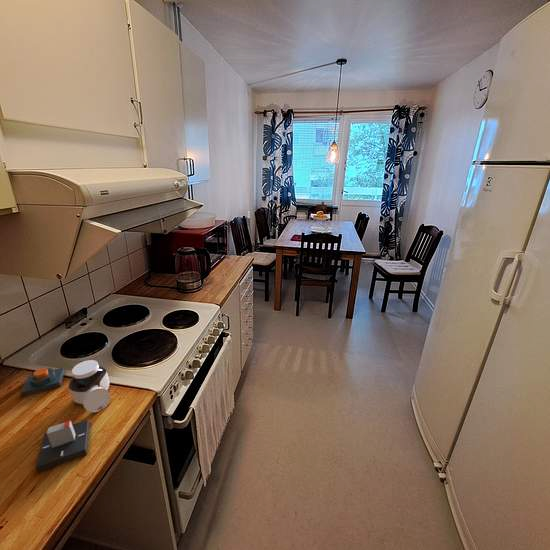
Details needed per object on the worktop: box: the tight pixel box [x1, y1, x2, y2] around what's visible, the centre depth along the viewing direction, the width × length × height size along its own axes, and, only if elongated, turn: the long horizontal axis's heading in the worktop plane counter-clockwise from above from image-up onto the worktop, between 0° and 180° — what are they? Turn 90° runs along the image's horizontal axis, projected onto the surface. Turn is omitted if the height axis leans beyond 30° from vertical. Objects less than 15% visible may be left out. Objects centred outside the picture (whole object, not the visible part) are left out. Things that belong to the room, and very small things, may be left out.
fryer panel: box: [35, 419, 91, 473], centre depth 75 cm, size 10×10×3 cm
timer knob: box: [46, 420, 75, 448], centre depth 73 cm, size 5×2×5 cm, turn 117°
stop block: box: [20, 367, 65, 397], centre depth 95 cm, size 10×8×4 cm
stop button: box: [33, 367, 49, 380], centre depth 94 cm, size 4×4×2 cm
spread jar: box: [68, 359, 111, 413], centre depth 88 cm, size 12×11×12 cm
